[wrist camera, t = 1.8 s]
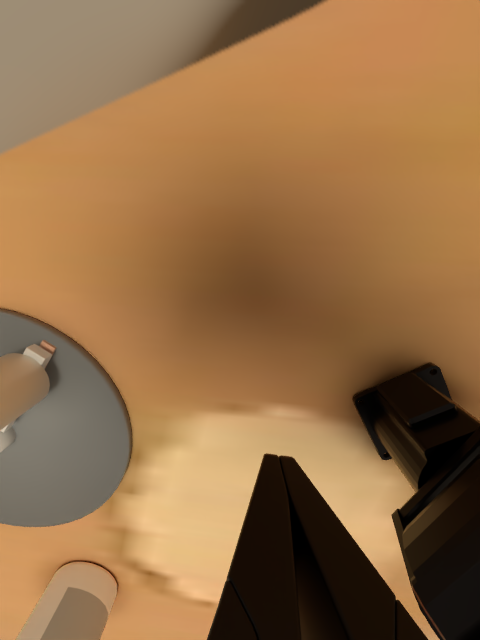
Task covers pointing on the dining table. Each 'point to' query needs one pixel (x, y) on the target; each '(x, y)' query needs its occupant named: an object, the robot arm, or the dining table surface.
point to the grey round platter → (61, 433)
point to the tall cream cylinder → (22, 383)
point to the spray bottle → (72, 605)
